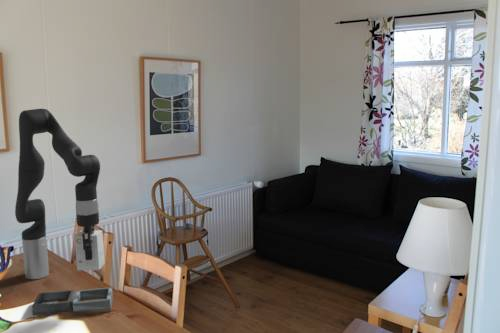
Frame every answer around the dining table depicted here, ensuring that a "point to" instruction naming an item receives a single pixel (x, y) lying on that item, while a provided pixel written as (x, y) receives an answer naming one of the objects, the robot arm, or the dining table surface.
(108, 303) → the frame
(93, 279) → the dining table surface
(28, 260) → the robot arm
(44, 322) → the dining table surface
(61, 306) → the socket
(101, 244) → the small box
